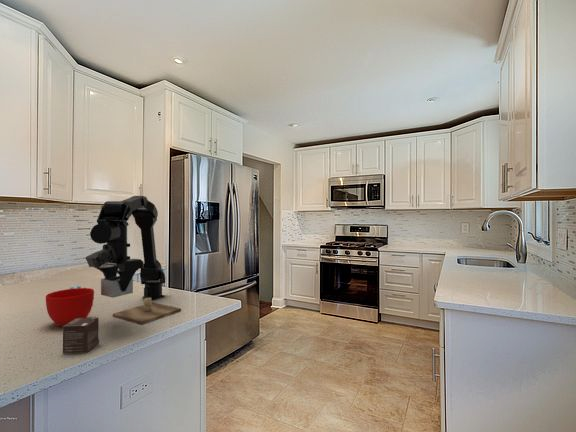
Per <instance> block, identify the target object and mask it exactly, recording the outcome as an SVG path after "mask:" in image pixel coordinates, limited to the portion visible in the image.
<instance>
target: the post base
mask: <svg viewBox="0 0 576 432" xmlns="http://www.w3.org/2000/svg"><path fill="white" fill-rule="evenodd" d="M181 311H182V308H181V307H176V306H173V305H168V304H164V303H162V304H161V303H158V302H152V300H151V298H143V304H142V305H138V306H135V307H132V308H128V309H125V310H120V311H117V312H114V313H112V317H114V318H115V319H120V320H124V321H126V322H130V323H135V324H137V325H142V326H143V325H145V324H148V323H150V322H153V321H156V320H160V319H162V318H163V319H164V318H165V317H169V316H172V315H174V314H176V313H180V312H181Z"/></svg>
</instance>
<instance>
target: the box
mask: <svg viewBox="0 0 576 432" xmlns="http://www.w3.org/2000/svg"><path fill="white" fill-rule="evenodd" d="M99 327H100V325H99V317H86V318H76V319H74V320H73V321H71V322H69V323H67V324H65V325H64V326H63V327H62V354H64V355H70V354H88V353H89V351H91V350H92V349H93V348H95V347H96V345H98V344H99V341H100V340H99V338H100V337H99Z"/></svg>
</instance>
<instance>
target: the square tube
mask: <svg viewBox="0 0 576 432" xmlns="http://www.w3.org/2000/svg"><path fill="white" fill-rule="evenodd" d="M133 279H134V276H133V277H132V279H131V281H130V283H129V285H128V287H127V289H126V291H123V292H122V291H121V284H120V275H116V276H115V277H109V278H105V277H104V278H100V295H101V296H104V297H107V298H108V297H109V298H117V297H121V296H126V295H130V294H133V293H134V283H133V282H134V280H133Z"/></svg>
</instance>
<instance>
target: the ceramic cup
mask: <svg viewBox="0 0 576 432" xmlns="http://www.w3.org/2000/svg"><path fill="white" fill-rule="evenodd" d="M94 296H95V290H94V288H90V287H89V288H88V287H81V288H77V287H76V288H75V287H74V289H70V288H67V289H60V290H56V291H53V292H50V293H48V294H46V295H45V307H46V311H47V314H48V316H49V319H51V321H52V322H53V323H55V324H56V325H57V326H58V327H62V328H63V326H64V325H65V324H67V323H69V322H71V321H73V320H74V319H76V318H88V315H90V313H91V311H92V308H93V304H94V299H95V297H94Z"/></svg>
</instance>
